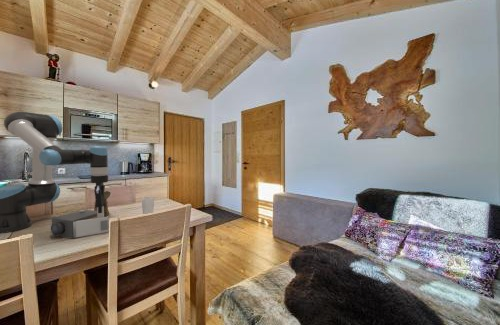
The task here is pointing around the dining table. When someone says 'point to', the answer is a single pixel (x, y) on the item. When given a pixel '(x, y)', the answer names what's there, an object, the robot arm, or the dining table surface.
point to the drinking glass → (148, 204)
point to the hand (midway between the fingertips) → (100, 218)
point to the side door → (90, 226)
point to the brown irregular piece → (106, 195)
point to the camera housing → (70, 222)
